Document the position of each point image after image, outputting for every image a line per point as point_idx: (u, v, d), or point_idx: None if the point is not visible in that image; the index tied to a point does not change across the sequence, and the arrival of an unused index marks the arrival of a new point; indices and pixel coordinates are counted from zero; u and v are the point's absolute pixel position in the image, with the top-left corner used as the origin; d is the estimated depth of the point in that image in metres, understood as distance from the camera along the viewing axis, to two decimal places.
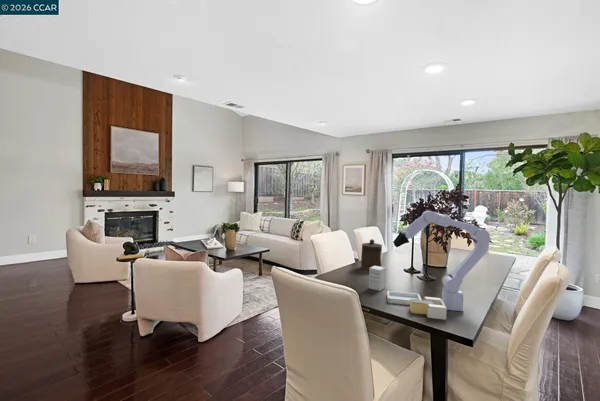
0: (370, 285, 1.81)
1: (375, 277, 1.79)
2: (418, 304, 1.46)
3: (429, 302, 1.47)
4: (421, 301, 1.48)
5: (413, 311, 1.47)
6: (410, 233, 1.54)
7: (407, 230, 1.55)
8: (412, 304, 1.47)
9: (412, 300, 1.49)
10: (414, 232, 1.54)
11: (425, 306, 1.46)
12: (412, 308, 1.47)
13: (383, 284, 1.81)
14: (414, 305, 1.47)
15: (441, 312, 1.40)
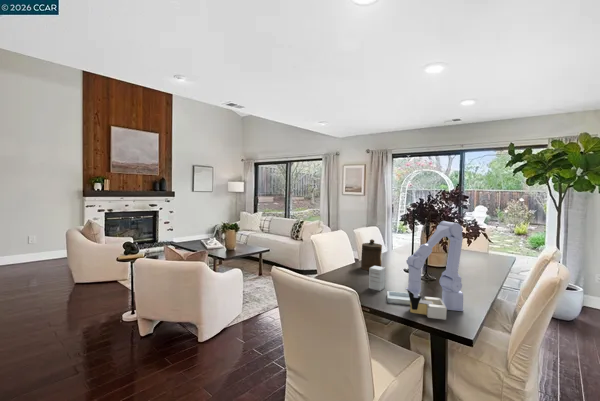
0: (370, 285, 1.81)
1: (375, 277, 1.79)
2: None
3: (429, 302, 1.46)
4: (421, 301, 1.48)
5: (412, 310, 1.47)
6: (415, 289, 1.46)
7: (411, 288, 1.47)
8: None
9: None
10: (417, 285, 1.46)
11: (425, 306, 1.45)
12: (411, 307, 1.47)
13: (383, 284, 1.81)
14: None
15: (441, 312, 1.40)
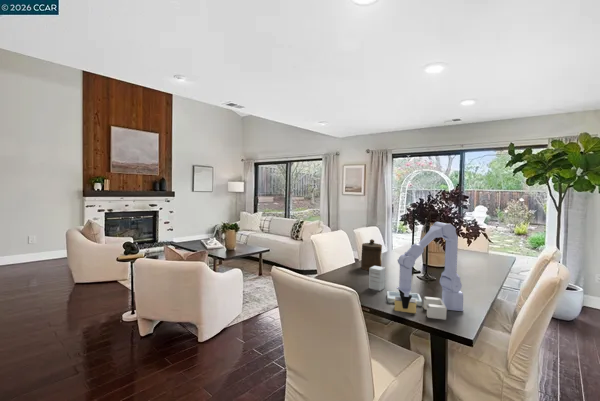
0: (370, 285, 1.81)
1: (375, 277, 1.79)
2: (401, 302, 1.48)
3: (413, 300, 1.49)
4: None
5: (396, 309, 1.49)
6: (406, 288, 1.47)
7: (401, 287, 1.48)
8: (395, 302, 1.49)
9: (396, 298, 1.52)
10: (408, 284, 1.47)
11: None
12: (395, 306, 1.49)
13: (383, 284, 1.81)
14: (397, 303, 1.49)
15: (441, 312, 1.40)
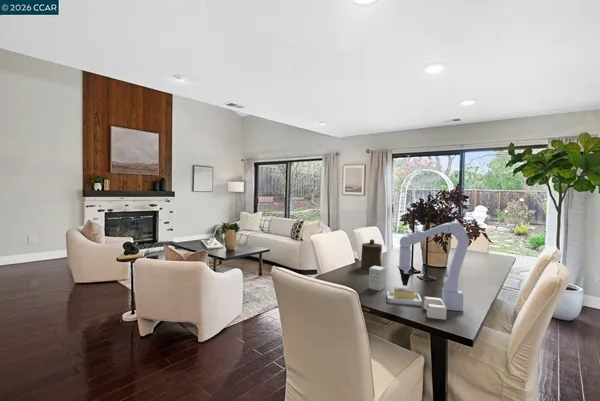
0: (370, 285, 1.81)
1: (375, 277, 1.79)
2: (401, 292, 1.61)
3: (411, 290, 1.62)
4: (404, 289, 1.63)
5: None
6: (405, 266, 1.59)
7: (401, 265, 1.61)
8: (395, 292, 1.61)
9: (396, 288, 1.64)
10: (407, 262, 1.59)
11: (407, 293, 1.60)
12: (395, 295, 1.62)
13: (383, 284, 1.81)
14: (397, 293, 1.61)
15: (441, 312, 1.40)
